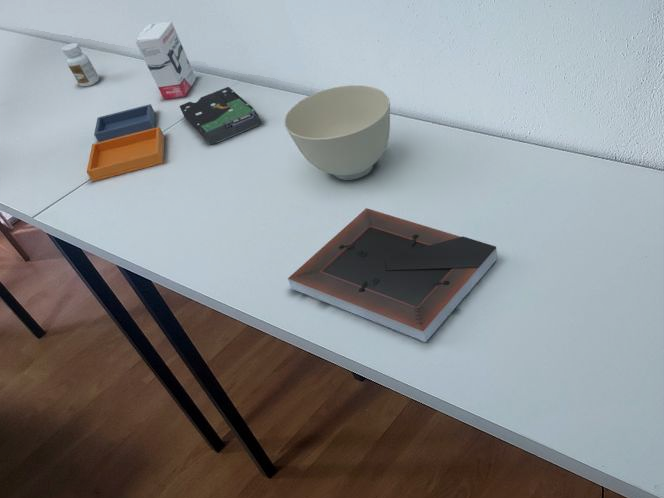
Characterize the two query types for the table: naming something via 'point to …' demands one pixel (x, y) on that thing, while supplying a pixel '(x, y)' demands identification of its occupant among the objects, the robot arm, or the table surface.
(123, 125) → the slate tray
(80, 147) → the table surface
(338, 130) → the bowl
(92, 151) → the orange tray
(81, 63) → the pill bottle
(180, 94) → the ink box
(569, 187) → the table surface
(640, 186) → the table surface
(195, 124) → the disk drive
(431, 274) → the picture frame
